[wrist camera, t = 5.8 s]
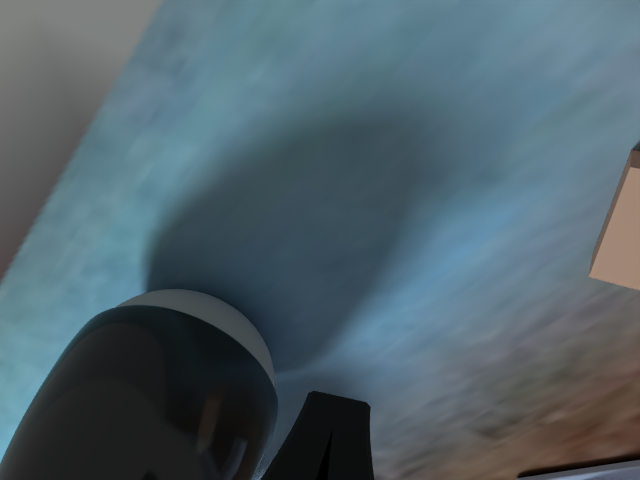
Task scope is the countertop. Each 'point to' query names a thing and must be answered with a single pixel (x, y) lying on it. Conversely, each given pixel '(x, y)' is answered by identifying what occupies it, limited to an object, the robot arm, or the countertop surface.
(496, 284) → the countertop surface
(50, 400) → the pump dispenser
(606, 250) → the end domino
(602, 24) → the countertop surface
